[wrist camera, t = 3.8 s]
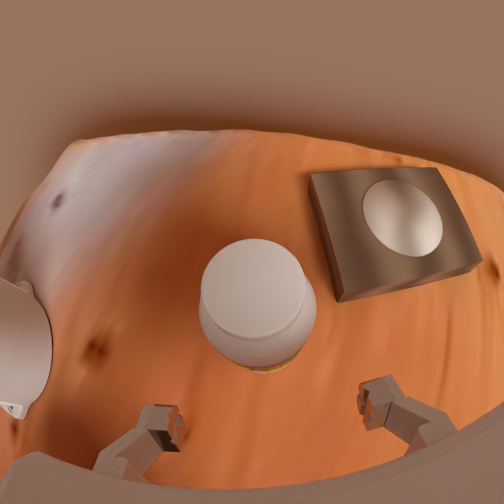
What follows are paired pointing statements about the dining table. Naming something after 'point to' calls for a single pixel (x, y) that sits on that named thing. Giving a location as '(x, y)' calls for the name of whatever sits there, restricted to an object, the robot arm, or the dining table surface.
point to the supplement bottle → (256, 305)
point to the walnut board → (390, 230)
